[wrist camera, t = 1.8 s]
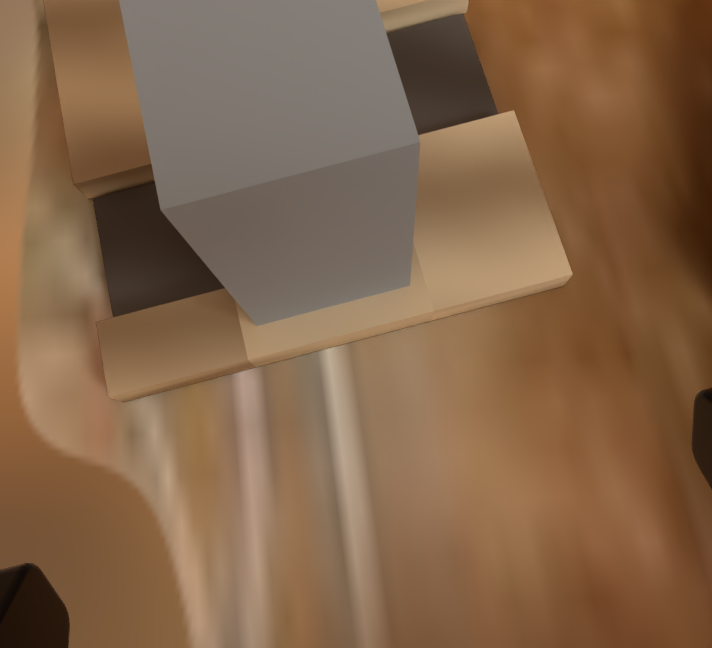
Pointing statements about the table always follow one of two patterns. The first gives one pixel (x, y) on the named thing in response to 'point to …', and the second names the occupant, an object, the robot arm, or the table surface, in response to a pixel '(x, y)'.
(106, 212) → the trap board
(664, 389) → the table surface
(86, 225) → the table surface
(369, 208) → the slate block
